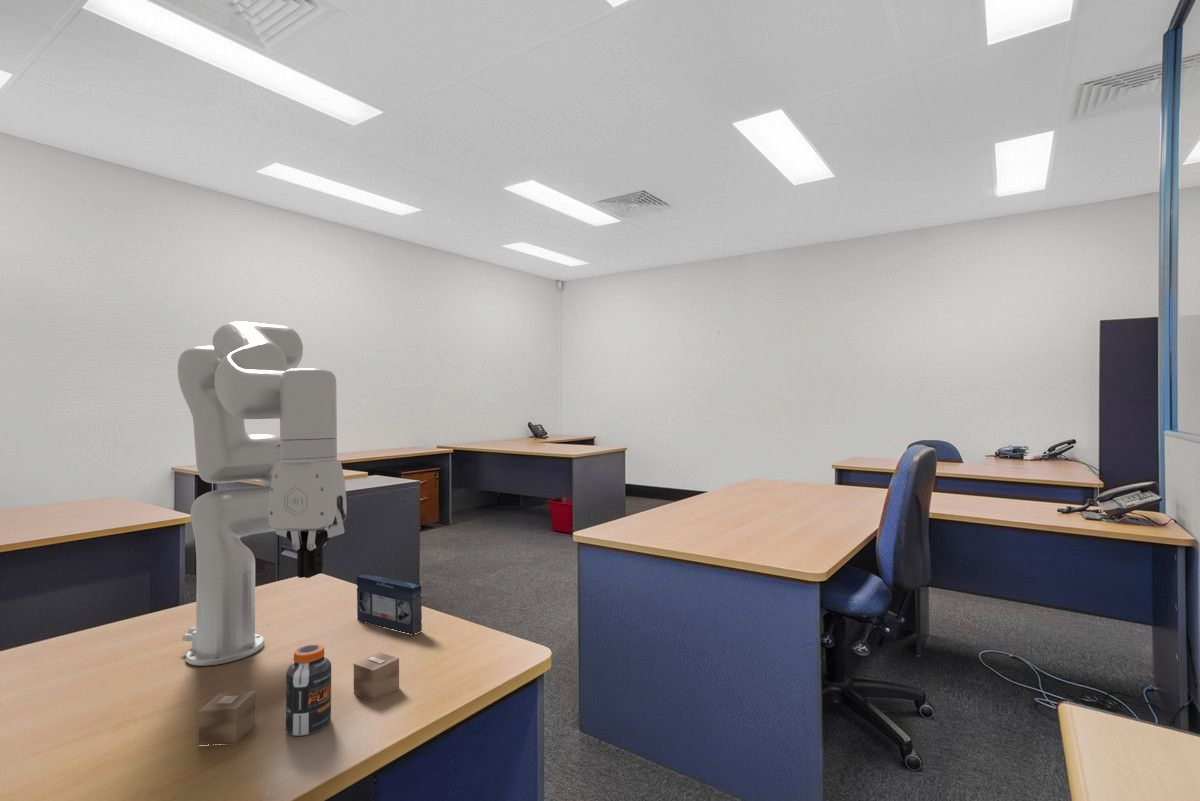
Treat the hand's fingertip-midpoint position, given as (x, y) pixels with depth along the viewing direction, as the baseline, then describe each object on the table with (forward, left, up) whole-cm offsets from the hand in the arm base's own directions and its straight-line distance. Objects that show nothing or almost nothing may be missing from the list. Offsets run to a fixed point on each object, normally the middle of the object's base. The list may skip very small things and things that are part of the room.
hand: (310, 575), depth 81 cm
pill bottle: (0, 0, -22) cm, 22 cm away
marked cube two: (+4, +11, -22) cm, 25 cm away
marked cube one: (-10, -4, -22) cm, 25 cm away
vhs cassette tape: (-10, +37, -23) cm, 45 cm away
